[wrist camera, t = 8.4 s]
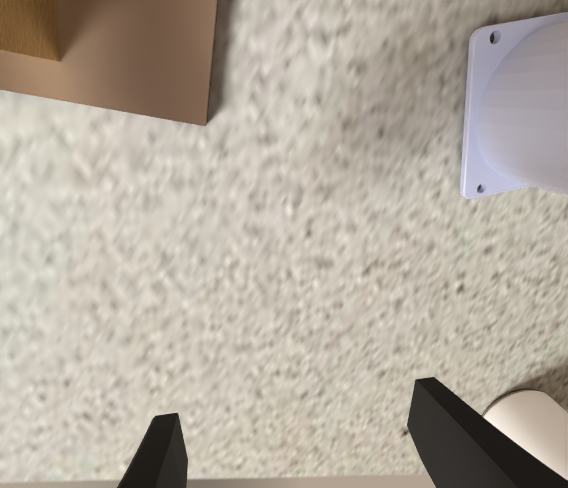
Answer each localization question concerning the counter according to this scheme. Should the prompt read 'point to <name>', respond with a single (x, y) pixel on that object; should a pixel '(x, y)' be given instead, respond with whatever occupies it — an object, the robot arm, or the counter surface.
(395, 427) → the counter surface
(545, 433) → the can
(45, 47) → the link
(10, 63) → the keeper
